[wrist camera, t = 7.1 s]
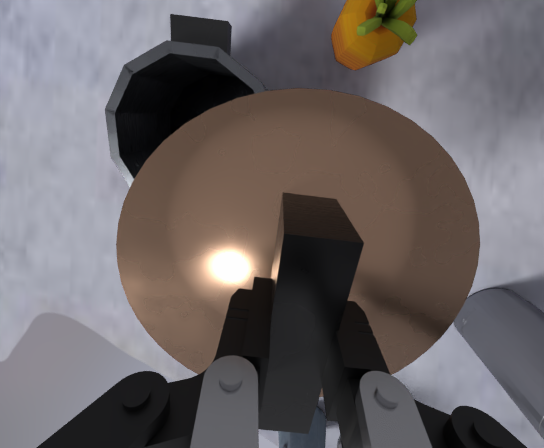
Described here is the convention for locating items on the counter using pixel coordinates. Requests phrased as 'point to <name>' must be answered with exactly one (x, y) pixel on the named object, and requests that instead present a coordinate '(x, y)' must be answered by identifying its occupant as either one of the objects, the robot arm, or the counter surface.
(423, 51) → the counter surface
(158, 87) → the cooking pot
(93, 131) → the counter surface
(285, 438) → the moka pot
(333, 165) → the lid
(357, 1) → the carrot
